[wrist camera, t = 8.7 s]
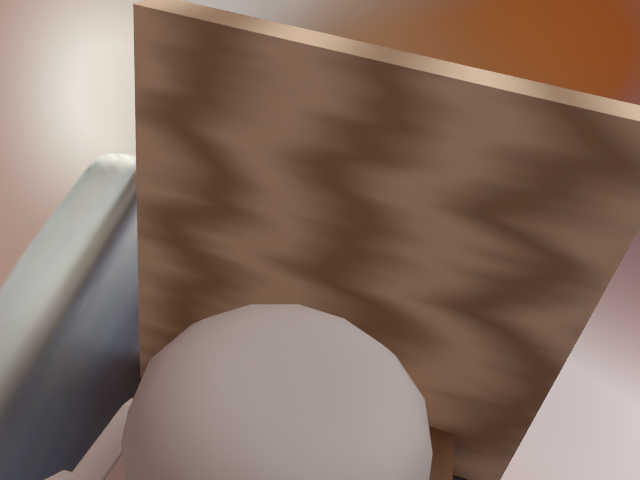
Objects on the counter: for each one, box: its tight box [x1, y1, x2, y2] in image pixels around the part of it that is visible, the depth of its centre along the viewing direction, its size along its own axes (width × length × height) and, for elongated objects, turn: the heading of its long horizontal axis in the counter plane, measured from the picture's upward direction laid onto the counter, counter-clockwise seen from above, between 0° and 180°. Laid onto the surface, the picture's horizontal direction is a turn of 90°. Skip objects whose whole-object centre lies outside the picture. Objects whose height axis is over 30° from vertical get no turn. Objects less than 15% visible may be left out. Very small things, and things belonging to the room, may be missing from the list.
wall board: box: [133, 0, 640, 480], centre depth 27 cm, size 20×2×20 cm, turn 76°
